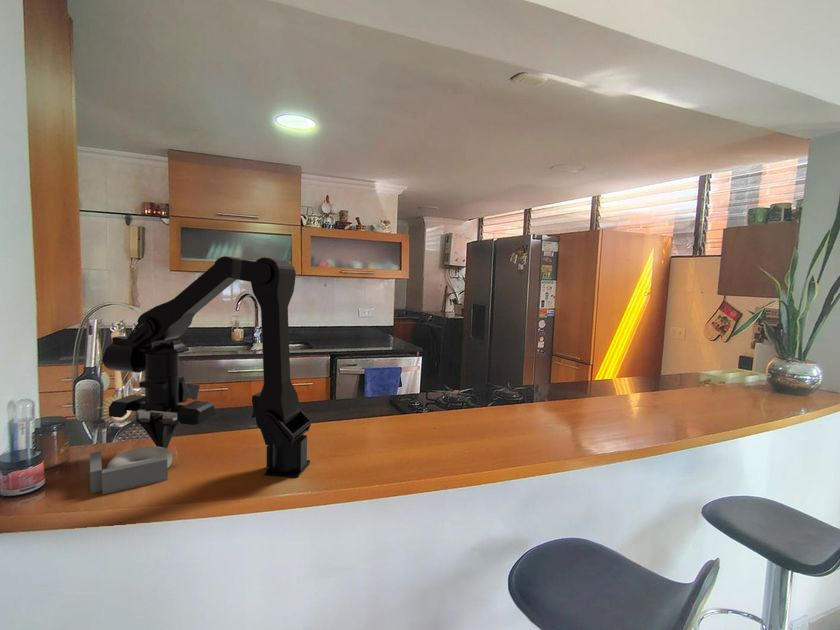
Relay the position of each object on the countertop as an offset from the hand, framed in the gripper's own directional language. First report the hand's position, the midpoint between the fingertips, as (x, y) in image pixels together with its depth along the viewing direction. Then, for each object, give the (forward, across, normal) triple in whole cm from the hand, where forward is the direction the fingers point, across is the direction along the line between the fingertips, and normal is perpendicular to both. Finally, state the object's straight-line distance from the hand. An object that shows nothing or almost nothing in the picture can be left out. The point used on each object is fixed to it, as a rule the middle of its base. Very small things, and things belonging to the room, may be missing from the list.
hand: (163, 450), depth 81 cm
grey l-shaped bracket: (+1, -1, +7) cm, 7 cm away
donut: (-1, -3, +2) cm, 4 cm away
